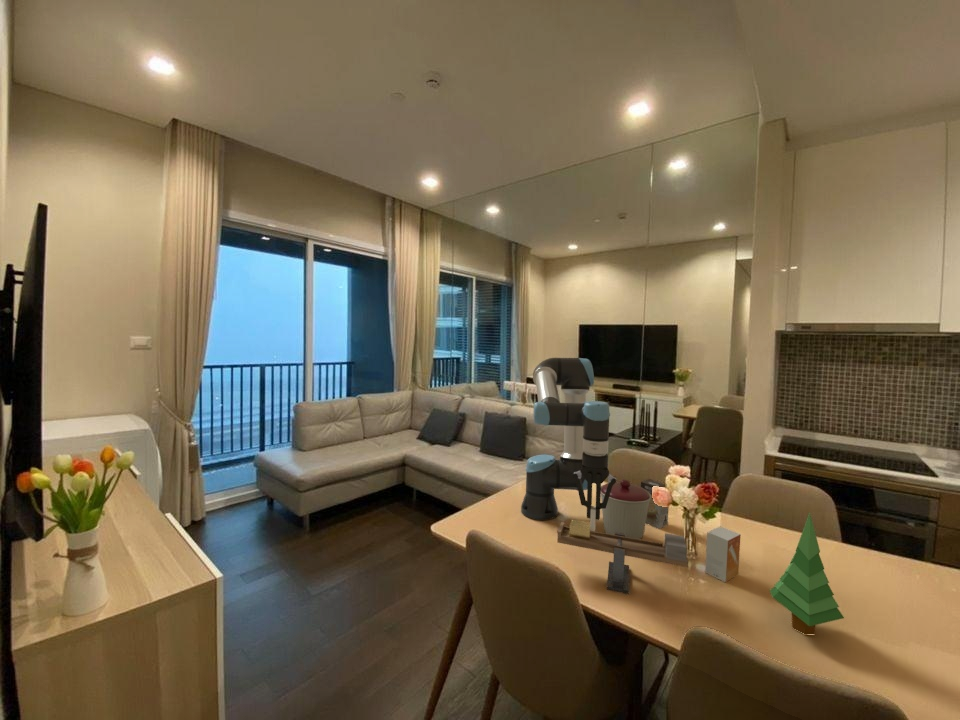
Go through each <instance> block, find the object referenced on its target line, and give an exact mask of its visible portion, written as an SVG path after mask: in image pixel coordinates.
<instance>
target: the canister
mask: <svg viewBox="0 0 960 720" xmlns="http://www.w3.org/2000/svg"><path fill="white" fill-rule="evenodd" d="M608 483H609V482H608ZM608 483H605V484H603V485H601V498H600V502H601V503H603V499H604V496H605V493H606V490H607V486H608ZM651 498H652V496H651V494H650V493H649V492H648V491H646V490H645V489H644V488H642V487H641V485H640V486H639V485H637V484H634V483H631V481H629V480H628V479H626V478H625V479H621V480H620V481H616V483H615V484H614V485H613V486H612V489H611V493H610V496H609V499H608V503H607V506H606V508H605V509H603V508H602V509H601V513H602V521H603V528H604V532H605V533H606V534H612V535H615V532H617V533H623V534H625V537H629V538H635V539H640V540H642V538H643V536H644V532H645V528H646V518H647V512H648V506H649V501H650V500H651Z"/></svg>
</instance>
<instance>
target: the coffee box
mask: <svg viewBox="0 0 960 720" xmlns="http://www.w3.org/2000/svg"><path fill="white" fill-rule="evenodd" d="M653 486H659V487H665V483H663V482H660V481H658V480H655V479H651V478H647V479H645V480H642V481H640V487H642V488H644V489H645V490H646V491H648V492H649V493H650V494H651V496H652V487H653ZM669 507H670V506H669ZM669 507H662V506H658V505H657V504H655V503H654V501H653V498H651V500H650V501H649V506H648V512H647V518H646V524H647V525H648V524H649V526H651V527H652V528H655V529H657V528H658V530H661V529H663V528H665V527H667V526H669V524H668V523H669ZM646 524H645V525H646ZM666 525H667V526H666ZM664 526H665V527H664ZM662 527H663V528H662ZM660 528H661V529H660Z"/></svg>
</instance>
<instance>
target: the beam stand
mask: <svg viewBox="0 0 960 720" xmlns="http://www.w3.org/2000/svg"><path fill="white" fill-rule="evenodd" d="M615 535H618V536H623V537H625V534H623V533H617V532H615ZM625 557H626V556H625V549H620V548H615V547H614V553H613V561H608V572H607V579H606V580H607V581H606V582H607V583H606V590H607V591H612V592H616V593H619V594H620V593H621V594H624V595H630V565H628V564H625V560H626V559H625Z"/></svg>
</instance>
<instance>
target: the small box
mask: <svg viewBox="0 0 960 720" xmlns="http://www.w3.org/2000/svg"><path fill="white" fill-rule="evenodd" d="M741 535H742V534H740V533H738V532H736V531H733V530H731V529H728V528H726V527H723V526H718V527H716V528H713V529H711V530H709V531H707V533H706V548H705V549H706V550H705V564H704V565H705V566H704V572H705V573H706V574H707V575H710V576H711V577H713V578H715V579H718V580H719V581H722V582H724V583H727V582H728V581H730V580H731V579H733V578H735V577H736V576H738V575H739V569H740V568H739V567H740V566H739V565H740V564H739V563H740V550H741V549H740V547H741Z"/></svg>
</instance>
